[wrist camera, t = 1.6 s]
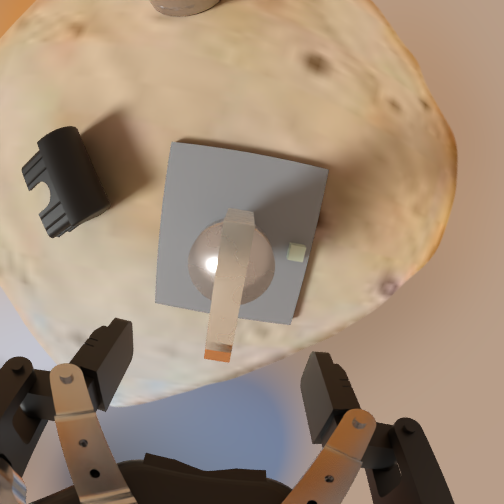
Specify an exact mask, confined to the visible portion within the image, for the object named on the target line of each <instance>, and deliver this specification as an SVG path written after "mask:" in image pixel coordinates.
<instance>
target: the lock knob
mask: <svg viewBox="0 0 504 504" xmlns="http://www.w3.org/2000/svg"><path fill="white" fill-rule="evenodd" d="M188 271H189V275H190V278H191V280H192V282H193V284H194V286H195V287H196V288H197V290H198V291H199V292H200V293H201V294H202V295H203V296H205V297H206V298H208V299H209V300H211V309H210V316H209V324H208V331H207V339H206V347H205V355H204V359H210V360H216V361H222V362H229V361H230V356H231V350H232V345H233V340H234V335H235V329H236V324H237V319H238V314H239V308H240V305H242V304H246V303H249V302H251V301H253V300H255V299H257V298H258V297H260V296H261V295H262V294H263V293H264V292H265V291H266V290H267V289H268V287H269V285H270V284H271V282H272V280H273V277H274V273H275V258H274V254H273V251H272V247H271V244H270V241H269V239H268V237H267V236H266V234H265V233H264V232H263V230H261V229H260V228H259V227H258V226H257V225H255V222H254V214H253V212H251V211H246V210H240V209H234V208H229V209H228V211H227V214H226V216H225V218H223V219H219V220H217V221H214V222H212V223H211V224H209V225H208V226H207V227H205V228H204V229H203V230H202V232H201V233H200V234H199V236H198V237H197V239H196V240H195V242H194V244H193V245H192V247H191V250H190V253H189V257H188Z"/></svg>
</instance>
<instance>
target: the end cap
mask: <svg viewBox="0 0 504 504" xmlns="http://www.w3.org/2000/svg"><path fill="white" fill-rule="evenodd" d="M37 144H38V147H39V151H38V152H37V153H36V154H35V155H34V156H33V157H32V158H31V159H30V160H29V161H28V162H27V163H26V164H25V165H24V166H23V167H22V173H23V176H24V179H25V182H26V184H27V187H28V190H29V191H30V190H32V189H33V188H34V187H35V186H36V185H37V184H38V183H40V182H41V181H42V182H45V183H46V184H47V185H48V187H49V189H50V195H51V197H50V202H49V204H48V206H47V207H46V208H45V209H44V210H43V211H42V212H41V213H39V216H40V218H41V221H42V223H43V225H44V227H45V229H46V231H47V233H48V235H49V236H50V237H51V238H54V237H60V236H61V235H63V234H64V233H65V232H67V231H68V232H71V231H72V230H73V229H75V228H76V227H77V226H79V225H80V224H82V223H83V222H85V221H88V220H90V219H92V218H94V217H97V216H99V215H101V214H102V213H104V212H105V211H106V210H107V209H109V208H110V206H111V204H110V202H109V200H108V198H107V196H106V194H105V192H104V189H103V187H102V185H101V183H100V181H99V179H98V177H97V174H96V172H95V170H94V168H93V165H92V163H91V161H90V158H89V156H88V154H87V151H86V149H85V147H84V144H83V142H82V139H81V137H80V134H79V132H78V129H77V128H76V127H73V126H67V127H62V128H59V129H57V130H54V131H52V132H50V133H49V134H47V135H46V136H44V137H43V138H41V139H40V140H39V141H38V142H37Z"/></svg>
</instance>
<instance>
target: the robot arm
mask: <svg viewBox="0 0 504 504" xmlns="http://www.w3.org/2000/svg"><path fill="white" fill-rule="evenodd" d="M219 1H220V0H150V2H151V3H152V5H153V6H154V8H155V9H156V10H157V11H159V12H161V13H163V14H165V15H169V16H189V15H193V14H197V13H200V12H203V11H205V10H207V9H209V8H211V7H213V6H214V5H215V4H217V3H218V2H219ZM132 356H133V331H132V322H131V321H127V320H123V319H119V318H114V320H113V321H112V322H111V323H110V325H109V326H108V327H106V326H102V327H100V328H98V329H96V330H94V332H93V333H92V334H91V335H90V337H89V339H87V340H86V342H85V344H83V346H82V347H81V348H80V350H79V351H78V352H77V353H76V355H75V356H74V357H73V359H72V360H71V361H70V363H64V364H59V365H57V366H55V367H54V368H53V369H52V370H51V371H44V370H37V369H33V366H32V363H31V361H30V360H28V359H27V358H25V357H13V358H11V359H9V360H8V361H7V362H6V363H5V364H4V365H3V367H2V368H1V369H0V504H26V491H27V489H26V485H25V483H24V481H23V479H22V476H23V474H24V471H25V469H26V467H27V464H28V462H29V460H30V458H31V455H32V453H33V451H34V449H35V447H36V444H37V442H38V440H39V438H40V436H41V434H42V432H43V430H44V428H45V426H46V424H47V422H48V420H51V421H55V423H56V427H57V431H58V436H59V439H60V443H61V447H62V450H63V454H64V457H65V460H66V463H67V466H68V469H69V472H70V475H71V478H72V481H73V484H74V485H73V486H70V487H68V488H66V489H63V490H61V491H59V492H56V493H54V494H52V495H49V496H47V497H45V498H42V499H39V500H37V501H34V502H31V503H29V504H341V502H342V501H343V499H344V497H345V496H346V494H347V492H348V490H349V489H350V487H351V485H352V483H353V481H354V479H355V478H356V476H357V474H358V472H359V470H360V468H365V471H366V475H367V479H368V483H369V487H370V491H371V495H372V500H373V504H454V501H453V499H452V496H451V493H450V491H449V488H448V486H447V483H446V481H445V479H444V476H443V474H442V472H441V469H440V467H439V464H438V462H437V460H436V458H435V455H434V453H433V451H432V449H431V447H430V445H429V442H428V440H427V438H426V436H425V434H424V432H423V430H422V427H421V426H420V424H419V423H418V422H416V421H415V420H413V419H411V418H400V419H398V420H397V421H396V422H395V423H394V425H389V424H383V423H378V422H376V421H375V418H374V417H373V416H372V415H371V414H370V413H369V412H367V411H365V410H362V409H361V408H360V405H359V403H358V401H357V398H356V396H355V393H354V391H353V388H352V387H351V384H350V381H348V377H347V375H346V372H345V371H344V370H343V369H342V367H341V366H340V365H339V364H333V361H332V359H331V356H330V354H329V353H325V352H312V353H311V354H310V356H309V359H308V362H307V364H306V367H305V370H304V372H303V375H302V378H301V393H302V397H303V402H304V406H305V411H306V416H307V420H308V425H309V429H310V434H311V439H312V443H313V444H322V447H323V449H322V450H321V451H320V453H319V454H318V456H317V457H316V459H315V460H314V461H313V463H312V464H311V466H310V467H309V468H308V470H307V471H306V472H305V474H304V475H303V476H302V478H301V479H300V480H299V481H298V483H297V484H296V485H295V486H294V488H293V489H291V488H290V487H288V486H286V485H284V484H283V483H281V482H278V481H276V480H273V479H270V478H266V470H249V469H228V470H217V471H203V470H200V469H197V468H195V467H192V466H189V465H187V464H184V463H182V462H179V461H177V460H175V459H169V458H165V457H161V456H156V455H152V454H149V453H146V454H145V458H144V460H129V461H123V462H120V463H117V464H116V462H115V460H114V457H113V456H112V453H111V451H110V448H109V446H108V444H107V441H106V439H105V437H104V434H103V431H102V429H101V426H100V424H99V421H98V418H97V416H96V411H97V409H99V410H102V411H105V412H106V410H107V409H108V407H109V404H110V402H111V400H112V398H113V396H114V394H115V392H116V390H117V388H118V386H119V384H120V382H121V380H122V378H123V376H124V374H125V372H126V370H127V368H128V366H129V364H130V362H131V360H132ZM397 463H398V464H397ZM398 466H399V467H398ZM399 468H400V470H399ZM400 471H401V473H400ZM401 475H402V476H401Z"/></svg>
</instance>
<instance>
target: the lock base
mask: <svg viewBox="0 0 504 504" xmlns="http://www.w3.org/2000/svg"><path fill="white" fill-rule="evenodd" d="M328 172H329V170H328V169H324V168H320V167H316V166H312V165H307V164H303V163H299V162H294V161H289V160H285V159H280V158H275V157H270V156H265V155H259V154H254V153H248V152H243V151H237V150H230V149H224V148H217V147H210V146H203V145H195V144H187V143H178V142H172V143H171V149H170V155H169V161H168V168H167V174H166V182H165V189H164V197H163V205H162V214H161V224H160V234H159V245H158V259H157V274H156V295H155V303H158V304H163V305H168V306H173V307H178V308H183V309H189V310H194V311H200V312H205V313H210V309H211V300H209V299H208V298H206V297H205V296H203V295H202V294H201V293H200V292H199V291H198V290H197V288H196V287H195V286H194V284H193V282H192V280H191V278H190V275H189V271H188V257H189V253H190V250H191V247H192V245H193V244H194V242H195V240H196V239H197V237H198V236H199V234H200V233H201V232H202V230H203V229H204V228H205V227H207V226H208V225H209V224H211V223H212V222H214V221H217V220H219V219H223V218H225V216H226V214H227V211H228V209H229V208H234V209H240V210H246V211H251V212H253V214H254V222H255V225H257V226H258V227H259V228H260V229H261V230H263V232H264V233H265V234H266V236H267V237H268V239H269V241H270V244H271V247H272V251H273V254H274V258H275V273H274V277H273V280H272V282H271V284H270V285H269V287H268V289H267V290H266V291H265V292H264V293H263V294H262V295H261V296H260V297H258V298H257V299H255V300H253V301H251V302H249V303H246V304H242V305H240V308H239V314H238V318H242V319H249V320H256V321H263V322H270V323H278V324H286V325H291V321H292V318H293V314H294V311H295V307H296V304H297V300H298V296H299V293H300V289H301V286H302V282H303V278H304V274H305V270H306V267H307V263H308V259H309V255H310V251H311V247H312V243H313V239H314V235H315V231H316V226H317V222H318V218H319V213H320V209H321V205H322V200H323V196H324V191H325V186H326V182H327V177H328Z"/></svg>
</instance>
